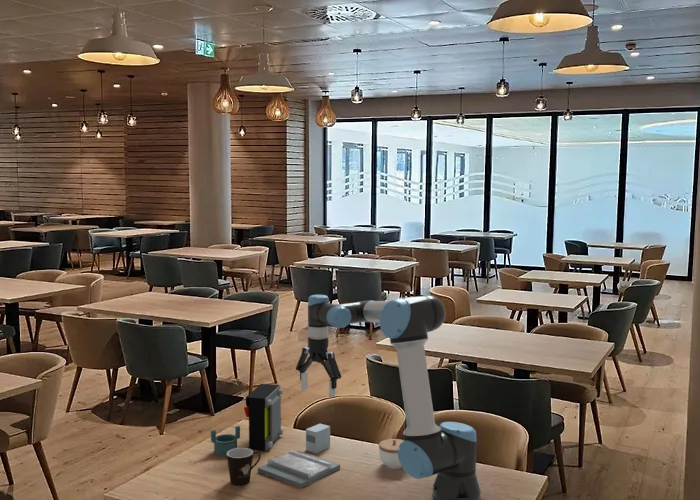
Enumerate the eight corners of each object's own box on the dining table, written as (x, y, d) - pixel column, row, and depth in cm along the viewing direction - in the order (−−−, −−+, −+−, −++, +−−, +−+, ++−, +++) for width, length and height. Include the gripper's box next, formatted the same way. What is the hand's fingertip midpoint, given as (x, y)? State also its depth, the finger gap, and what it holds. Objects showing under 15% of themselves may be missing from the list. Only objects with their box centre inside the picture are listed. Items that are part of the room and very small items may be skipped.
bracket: (209, 454, 253) (208, 430, 252) (223, 445, 261) (223, 422, 260) (230, 458, 249) (229, 434, 248) (243, 449, 258) (243, 426, 257)
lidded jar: (388, 457, 251) (389, 432, 250) (414, 464, 245) (415, 438, 244) (372, 467, 242) (373, 441, 241) (399, 474, 236) (399, 447, 235)
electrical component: (270, 451, 255) (270, 398, 253) (244, 449, 257) (243, 397, 255) (284, 434, 272) (284, 385, 270) (259, 432, 274) (259, 383, 272)
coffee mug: (228, 488, 224) (228, 459, 223) (225, 478, 232) (225, 449, 231) (264, 484, 227) (263, 455, 226) (260, 474, 236) (260, 445, 235)
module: (330, 447, 260) (330, 426, 260) (315, 453, 254) (315, 432, 253) (320, 443, 263) (320, 423, 263) (305, 450, 257) (305, 429, 256)
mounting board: (340, 468, 241) (340, 464, 240) (301, 488, 225) (301, 483, 225) (297, 454, 253) (297, 450, 253) (258, 472, 237) (258, 467, 237)
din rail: (331, 467, 237) (331, 463, 237) (308, 479, 228) (308, 474, 228) (290, 454, 249) (290, 449, 249) (267, 464, 240) (267, 459, 240)
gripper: (351, 340, 250) (350, 397, 252) (300, 330, 265) (300, 384, 267) (337, 344, 244) (337, 402, 246) (286, 333, 259) (286, 388, 262)
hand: (317, 393), depth 257 cm, fingers open, 13 cm apart
